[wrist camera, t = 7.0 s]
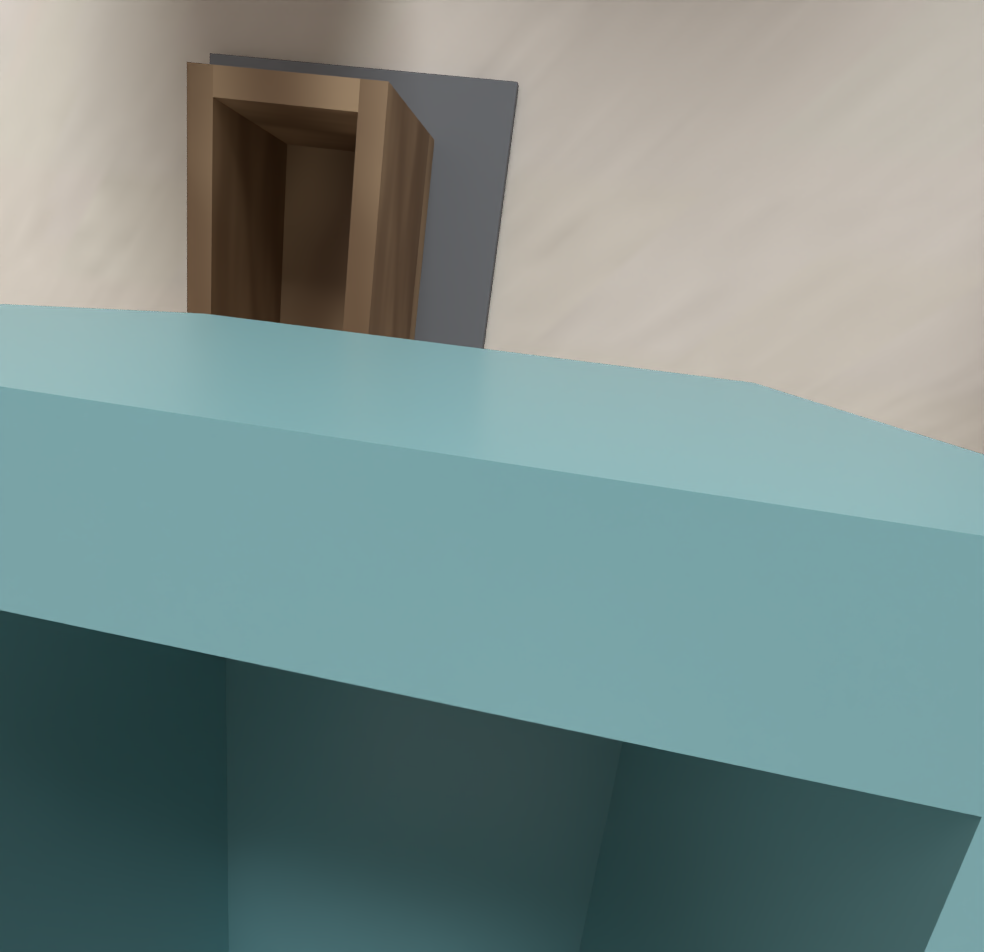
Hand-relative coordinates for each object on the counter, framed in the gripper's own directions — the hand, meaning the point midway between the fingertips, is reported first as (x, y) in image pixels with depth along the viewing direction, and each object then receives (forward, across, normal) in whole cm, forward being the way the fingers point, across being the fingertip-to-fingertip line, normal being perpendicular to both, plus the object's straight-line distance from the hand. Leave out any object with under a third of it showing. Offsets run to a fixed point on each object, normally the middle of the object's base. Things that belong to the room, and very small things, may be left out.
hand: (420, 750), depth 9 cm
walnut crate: (+19, +10, -8) cm, 23 cm away
